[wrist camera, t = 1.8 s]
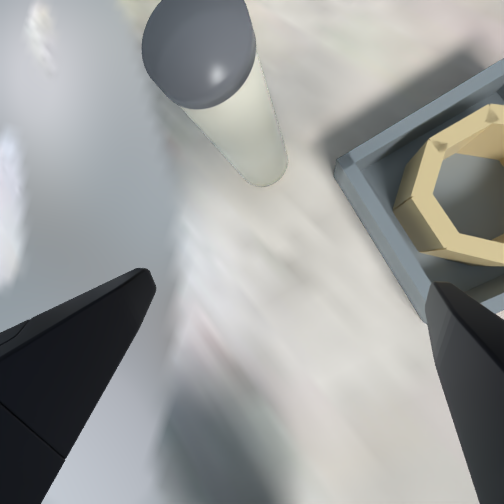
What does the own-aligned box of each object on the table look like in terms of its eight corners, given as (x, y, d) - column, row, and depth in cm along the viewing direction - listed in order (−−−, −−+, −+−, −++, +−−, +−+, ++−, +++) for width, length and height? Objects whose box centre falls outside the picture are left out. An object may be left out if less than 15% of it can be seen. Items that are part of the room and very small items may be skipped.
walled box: (423, 322, 19) (454, 339, 14) (333, 176, 21) (337, 152, 16) (617, 234, 16) (724, 224, 12) (496, 79, 18) (552, 21, 14)
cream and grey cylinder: (252, 197, 22) (171, 117, 10) (229, 155, 23) (124, 30, 11) (299, 169, 21) (271, 43, 9) (273, 126, 22) (215, -46, 10)
